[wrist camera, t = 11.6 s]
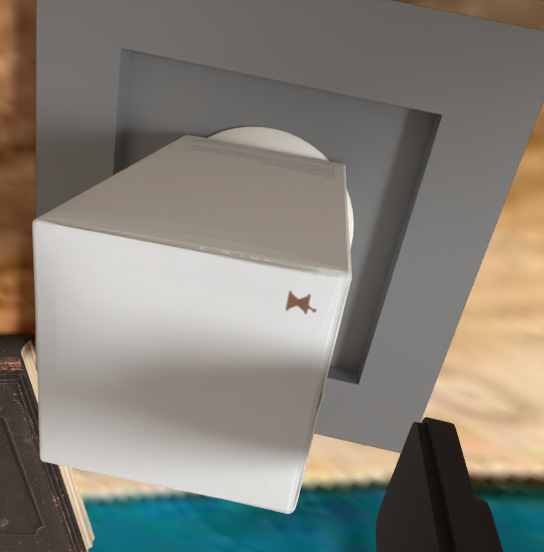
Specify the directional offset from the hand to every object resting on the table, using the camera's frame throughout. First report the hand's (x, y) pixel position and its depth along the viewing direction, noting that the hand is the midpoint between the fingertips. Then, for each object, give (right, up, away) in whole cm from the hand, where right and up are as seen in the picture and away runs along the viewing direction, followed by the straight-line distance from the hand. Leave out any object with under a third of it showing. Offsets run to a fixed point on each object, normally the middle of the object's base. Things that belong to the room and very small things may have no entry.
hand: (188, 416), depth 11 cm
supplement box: (+1, +5, +13) cm, 14 cm away
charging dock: (+1, +6, +14) cm, 15 cm away
